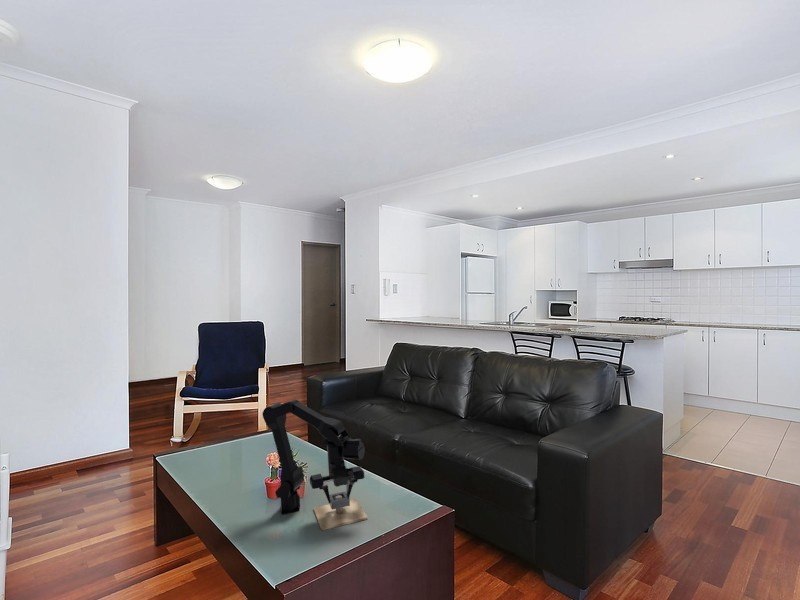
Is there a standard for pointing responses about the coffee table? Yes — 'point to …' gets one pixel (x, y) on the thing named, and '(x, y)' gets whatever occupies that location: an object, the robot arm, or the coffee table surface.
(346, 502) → the collar
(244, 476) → the coffee table surface
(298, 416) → the robot arm
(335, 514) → the wooden peg base
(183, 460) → the coffee table surface
